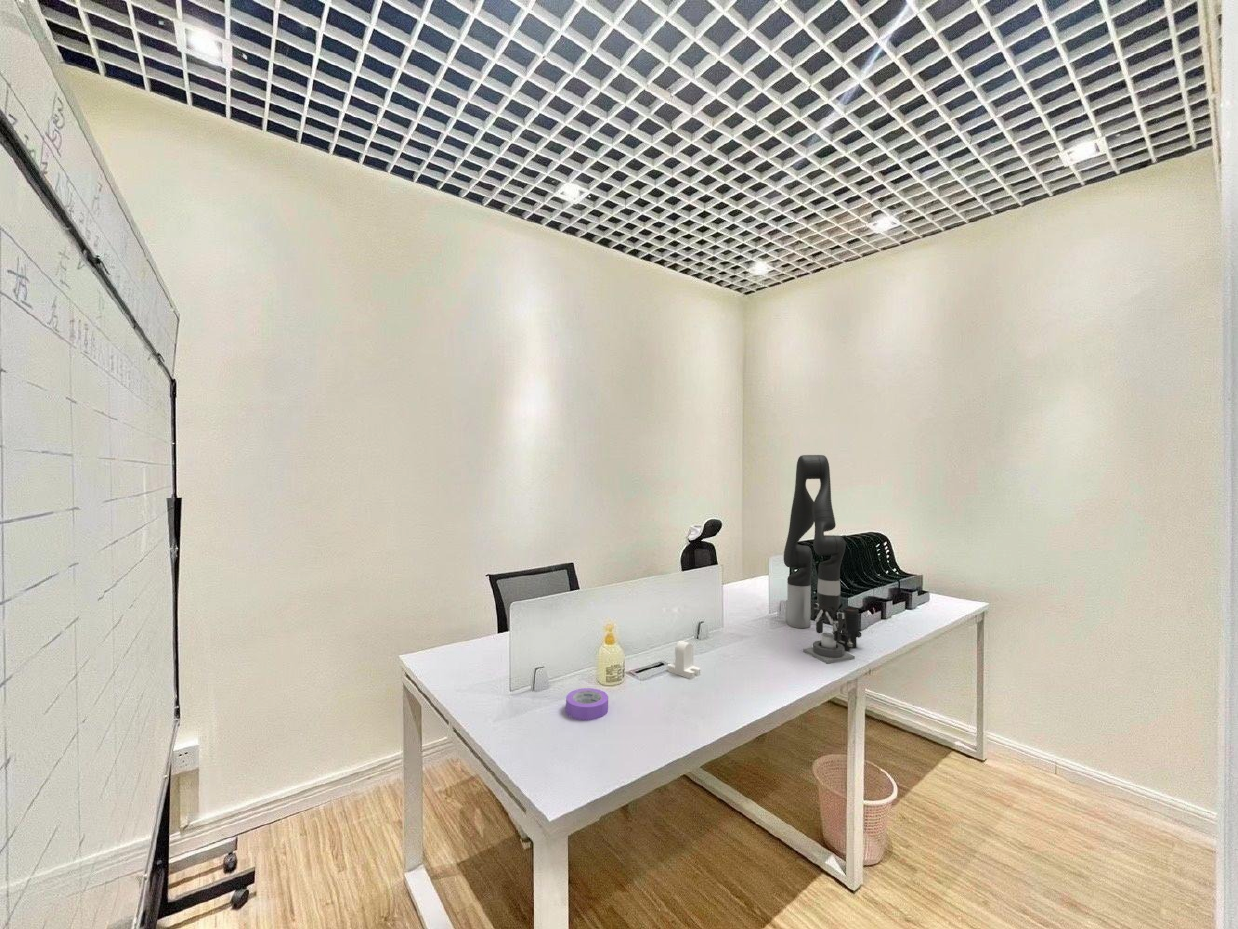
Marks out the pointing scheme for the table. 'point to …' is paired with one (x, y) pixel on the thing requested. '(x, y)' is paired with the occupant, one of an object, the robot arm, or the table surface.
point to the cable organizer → (684, 661)
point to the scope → (850, 629)
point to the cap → (828, 641)
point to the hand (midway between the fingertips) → (828, 637)
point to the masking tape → (587, 711)
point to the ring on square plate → (828, 653)
